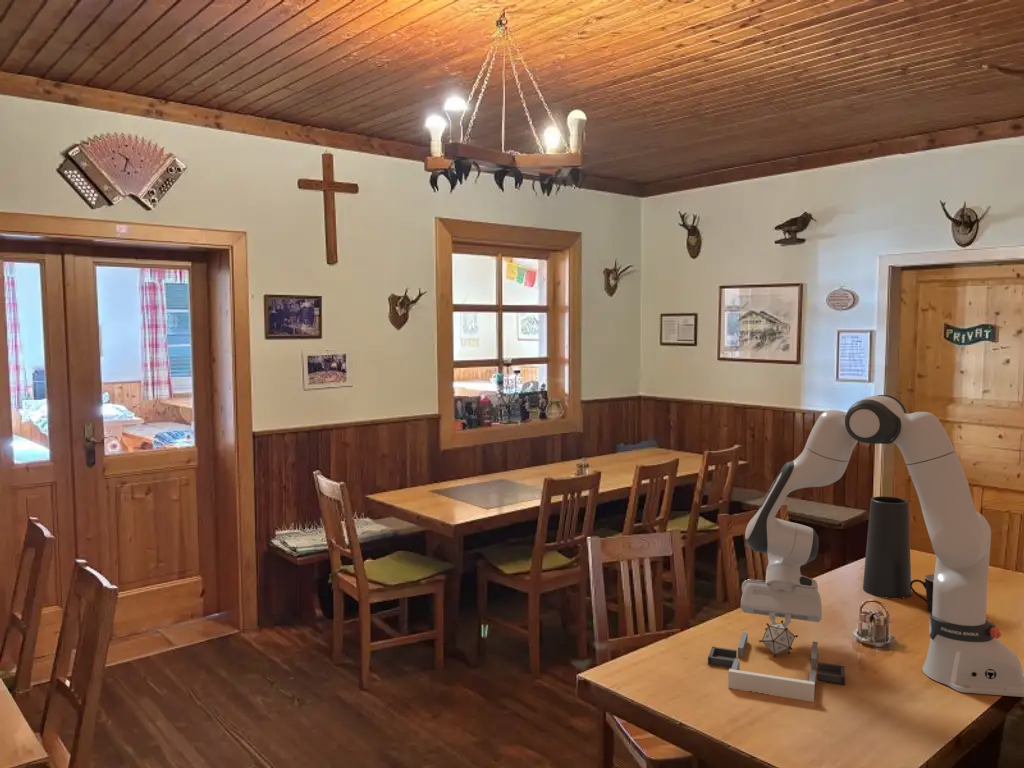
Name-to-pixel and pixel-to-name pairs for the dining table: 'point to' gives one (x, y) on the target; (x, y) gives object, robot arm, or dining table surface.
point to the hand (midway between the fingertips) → (779, 631)
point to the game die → (778, 638)
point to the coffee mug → (929, 590)
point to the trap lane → (774, 683)
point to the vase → (888, 549)
